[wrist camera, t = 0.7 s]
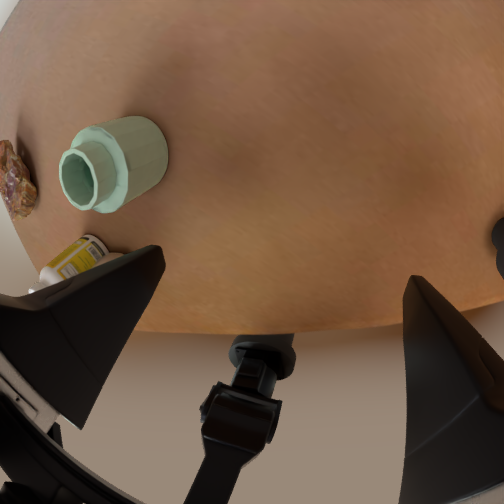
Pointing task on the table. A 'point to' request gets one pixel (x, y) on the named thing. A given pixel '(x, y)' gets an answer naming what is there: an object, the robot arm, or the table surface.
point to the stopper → (499, 245)
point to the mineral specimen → (15, 182)
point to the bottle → (113, 163)
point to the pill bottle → (71, 261)
